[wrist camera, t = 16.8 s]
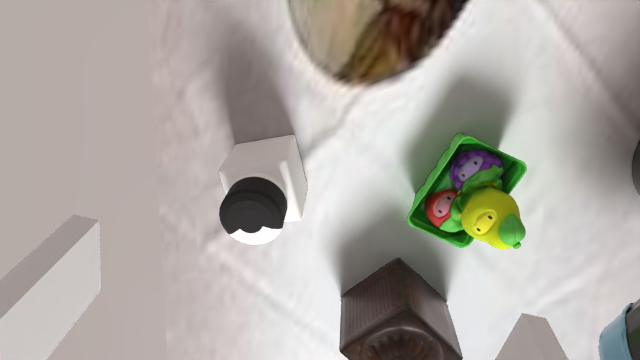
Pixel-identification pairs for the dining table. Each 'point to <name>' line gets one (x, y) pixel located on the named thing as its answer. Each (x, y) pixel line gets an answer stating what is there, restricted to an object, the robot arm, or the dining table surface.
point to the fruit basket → (471, 196)
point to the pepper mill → (396, 318)
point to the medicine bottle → (262, 189)
